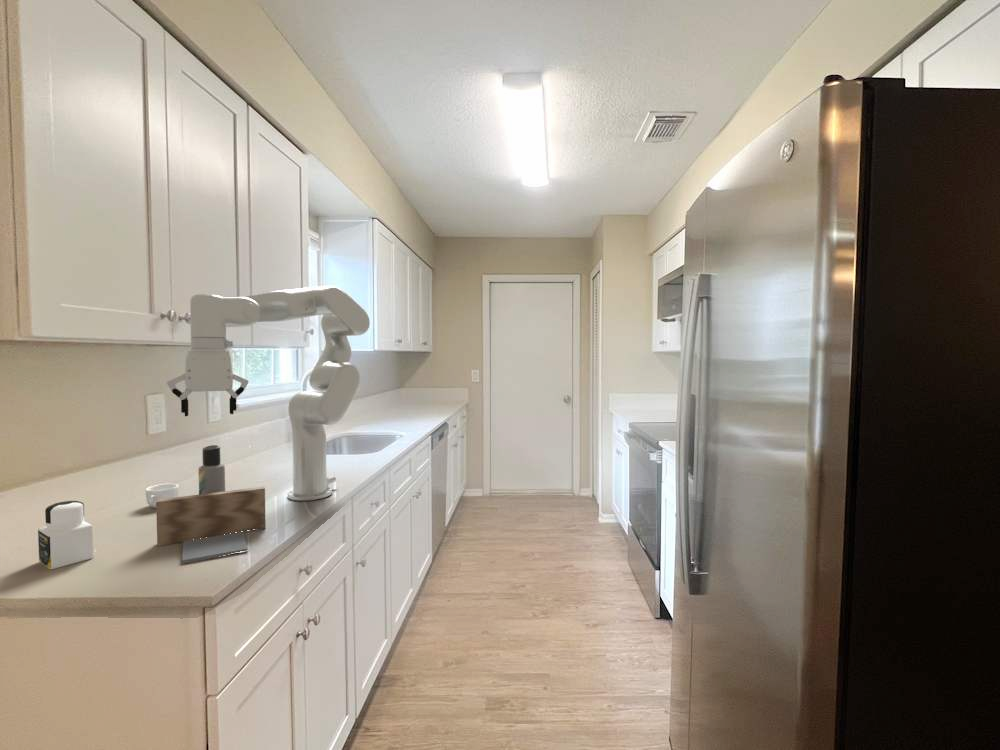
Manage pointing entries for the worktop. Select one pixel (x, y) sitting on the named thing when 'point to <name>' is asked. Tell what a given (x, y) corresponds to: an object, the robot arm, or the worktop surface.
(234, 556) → the worktop surface
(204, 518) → the brown wooden board
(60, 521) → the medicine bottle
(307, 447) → the robot arm
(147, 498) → the teacup
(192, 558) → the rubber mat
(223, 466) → the lotion bottle
